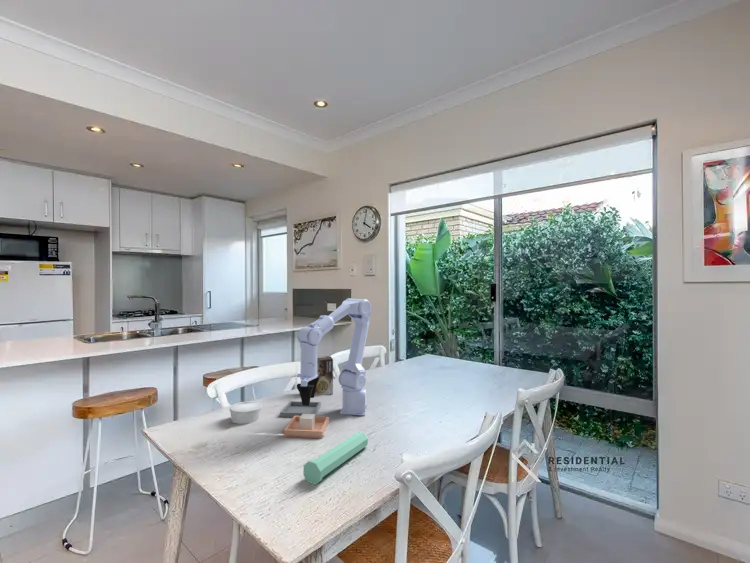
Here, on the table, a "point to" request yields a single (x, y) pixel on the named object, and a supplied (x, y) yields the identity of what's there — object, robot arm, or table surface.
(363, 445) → the mint green octagonal prism
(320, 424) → the terracotta tray
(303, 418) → the white cube
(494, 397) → the table surface
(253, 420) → the ramekin
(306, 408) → the grey tray
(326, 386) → the coffee box
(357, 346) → the robot arm
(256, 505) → the table surface
